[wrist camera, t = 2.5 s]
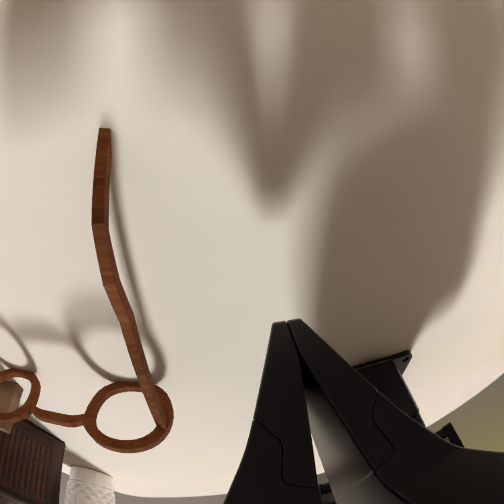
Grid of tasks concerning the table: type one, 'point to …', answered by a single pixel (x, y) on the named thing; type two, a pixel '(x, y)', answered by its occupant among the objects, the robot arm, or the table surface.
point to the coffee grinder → (30, 465)
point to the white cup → (89, 487)
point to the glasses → (114, 289)
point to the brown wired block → (9, 401)
